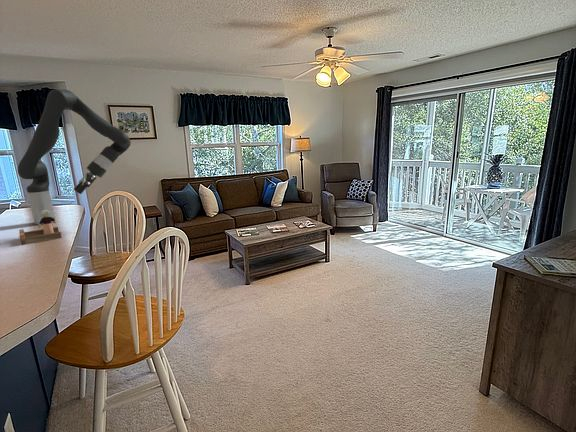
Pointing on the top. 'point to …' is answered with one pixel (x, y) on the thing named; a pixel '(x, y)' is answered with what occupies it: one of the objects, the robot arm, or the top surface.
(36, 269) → the top surface
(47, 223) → the grandmother figurine
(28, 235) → the trap box
